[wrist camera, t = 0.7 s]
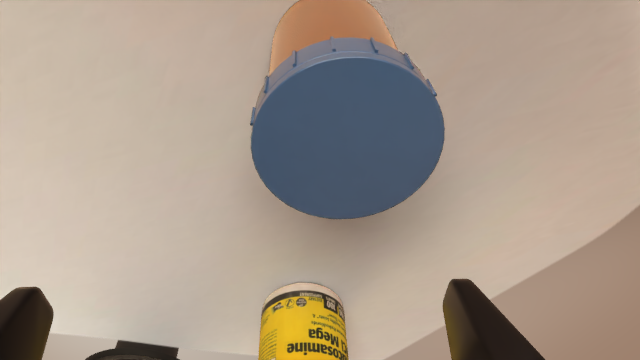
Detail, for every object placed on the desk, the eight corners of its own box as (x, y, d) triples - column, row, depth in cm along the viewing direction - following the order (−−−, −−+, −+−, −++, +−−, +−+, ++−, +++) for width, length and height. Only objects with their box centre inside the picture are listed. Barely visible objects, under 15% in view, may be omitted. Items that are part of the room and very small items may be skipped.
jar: (380, 105, 22) (413, 203, 16) (273, 103, 22) (265, 203, 16) (397, -9, 19) (447, 63, 13) (270, -13, 18) (258, 59, 12)
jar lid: (415, 192, 17) (424, 220, 16) (258, 192, 17) (255, 220, 16) (451, 38, 13) (468, 58, 12) (248, 33, 13) (243, 53, 12)
